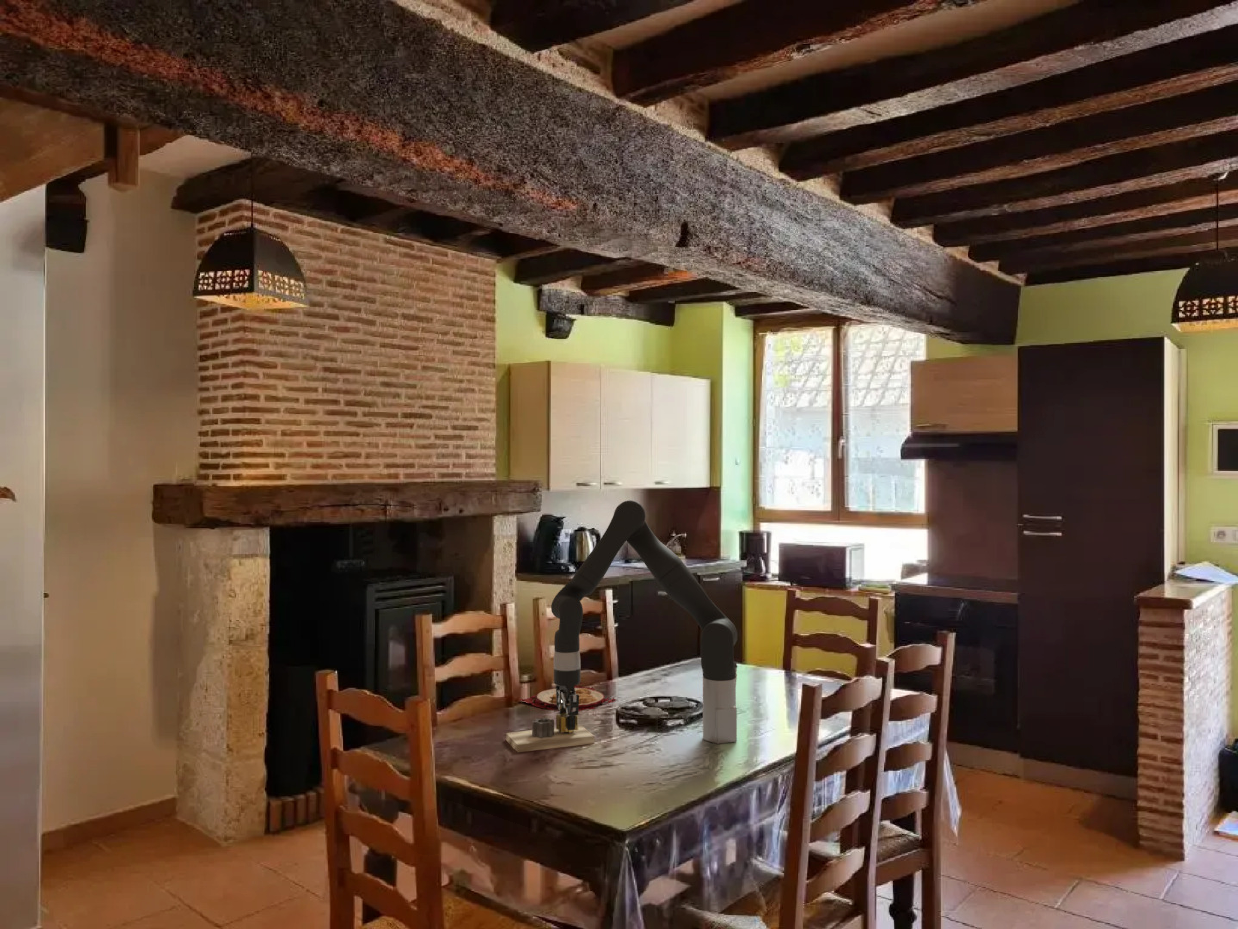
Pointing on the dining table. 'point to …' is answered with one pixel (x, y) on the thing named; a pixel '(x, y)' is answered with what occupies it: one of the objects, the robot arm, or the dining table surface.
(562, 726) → the brass gear
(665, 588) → the robot arm
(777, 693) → the dining table surface
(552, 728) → the gear board
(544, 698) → the plate with food
